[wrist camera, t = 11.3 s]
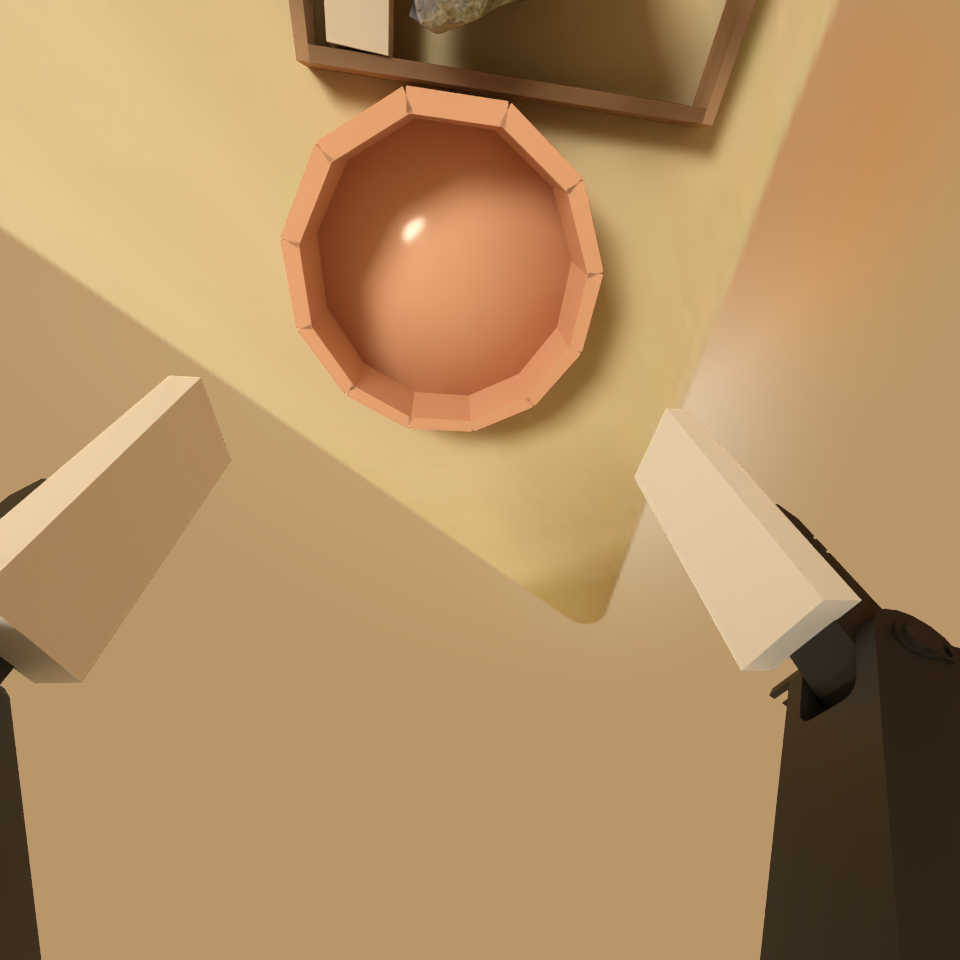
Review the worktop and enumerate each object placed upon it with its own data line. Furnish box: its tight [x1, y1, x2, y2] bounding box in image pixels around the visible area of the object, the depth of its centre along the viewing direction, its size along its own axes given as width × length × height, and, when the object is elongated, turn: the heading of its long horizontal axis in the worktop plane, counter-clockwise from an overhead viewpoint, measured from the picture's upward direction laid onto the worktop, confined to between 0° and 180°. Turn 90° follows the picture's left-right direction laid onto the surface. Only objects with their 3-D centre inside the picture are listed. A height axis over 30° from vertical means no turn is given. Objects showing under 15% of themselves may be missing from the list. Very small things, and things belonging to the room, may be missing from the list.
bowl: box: [281, 85, 603, 432], centre depth 25 cm, size 18×18×4 cm
